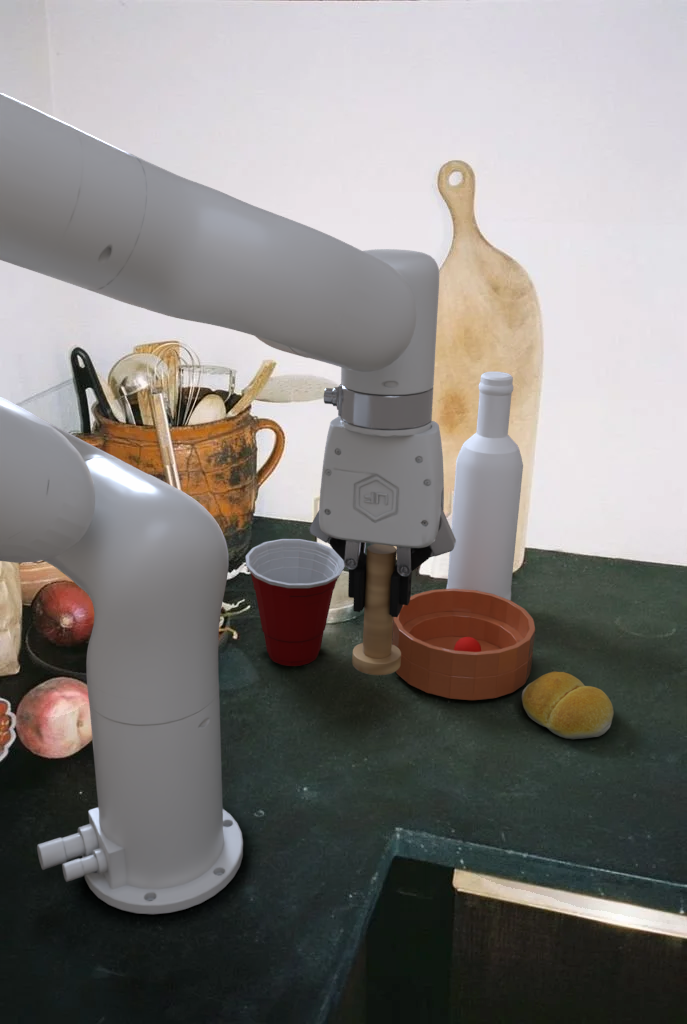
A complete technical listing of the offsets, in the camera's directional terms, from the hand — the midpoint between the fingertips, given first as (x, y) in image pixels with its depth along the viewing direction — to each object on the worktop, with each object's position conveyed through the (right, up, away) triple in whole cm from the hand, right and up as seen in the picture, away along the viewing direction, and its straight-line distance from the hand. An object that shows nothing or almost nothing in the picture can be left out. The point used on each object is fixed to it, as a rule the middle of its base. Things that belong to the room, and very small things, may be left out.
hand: (379, 606), depth 83 cm
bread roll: (+19, -13, +12) cm, 26 cm away
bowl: (+10, -9, +21) cm, 25 cm away
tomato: (+11, -7, +20) cm, 24 cm away
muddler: (0, -5, +2) cm, 6 cm away
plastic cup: (-9, -8, +23) cm, 26 cm away
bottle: (+13, -4, +34) cm, 36 cm away
